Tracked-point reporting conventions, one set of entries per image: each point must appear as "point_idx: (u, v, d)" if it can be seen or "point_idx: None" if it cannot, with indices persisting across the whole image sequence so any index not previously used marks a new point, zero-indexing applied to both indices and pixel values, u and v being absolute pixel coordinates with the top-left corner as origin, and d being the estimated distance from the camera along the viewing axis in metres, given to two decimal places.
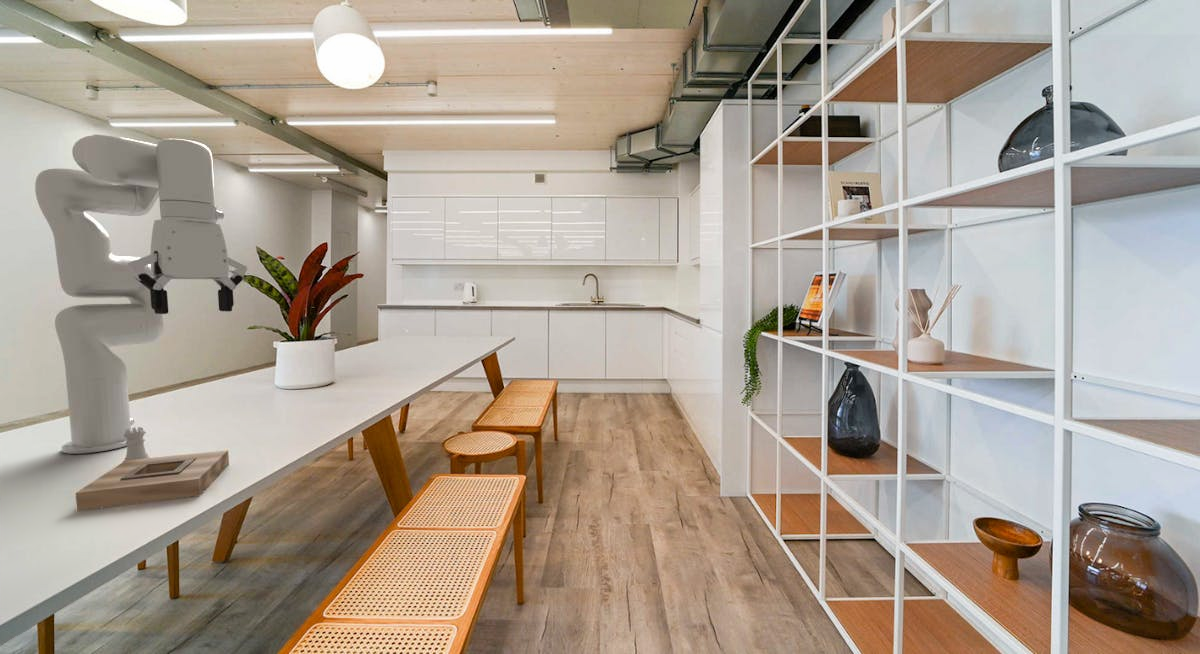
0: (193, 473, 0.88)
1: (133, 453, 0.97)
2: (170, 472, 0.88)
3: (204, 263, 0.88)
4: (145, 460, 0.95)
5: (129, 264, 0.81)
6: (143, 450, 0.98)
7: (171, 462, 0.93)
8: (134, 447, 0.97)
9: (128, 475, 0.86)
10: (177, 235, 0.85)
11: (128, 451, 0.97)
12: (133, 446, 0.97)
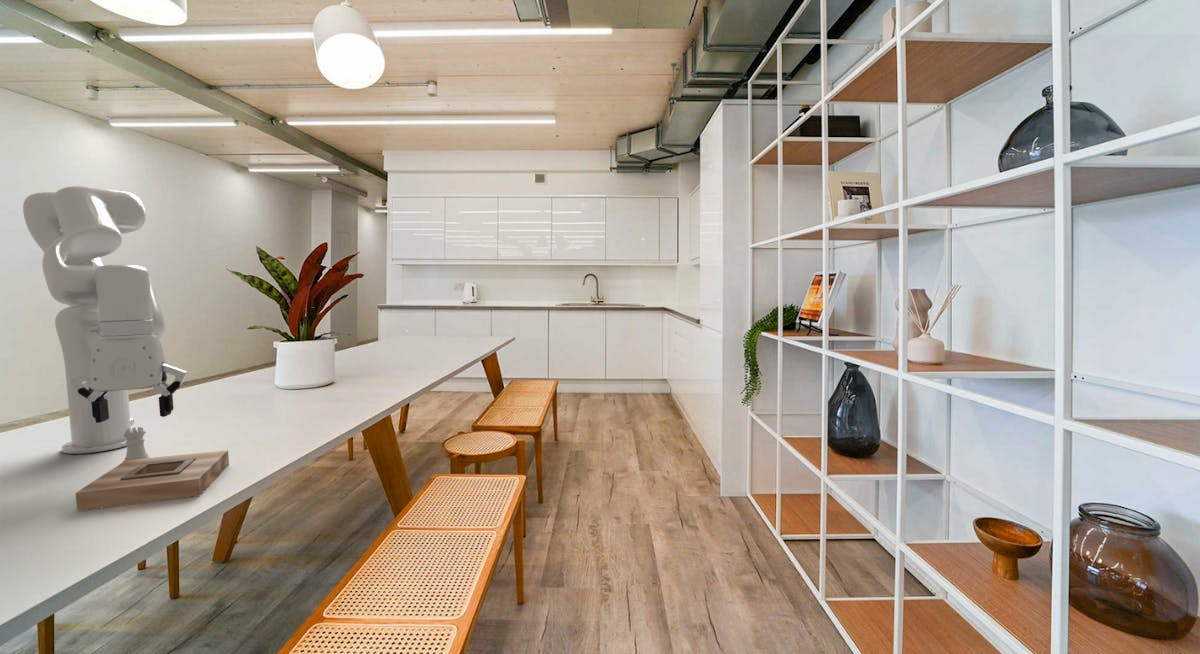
0: (193, 473, 0.88)
1: (133, 453, 0.97)
2: (170, 472, 0.88)
3: None
4: (145, 460, 0.95)
5: (186, 372, 1.00)
6: (143, 450, 0.98)
7: (171, 462, 0.93)
8: (134, 447, 0.97)
9: (128, 475, 0.86)
10: None
11: (128, 451, 0.97)
12: (133, 446, 0.97)
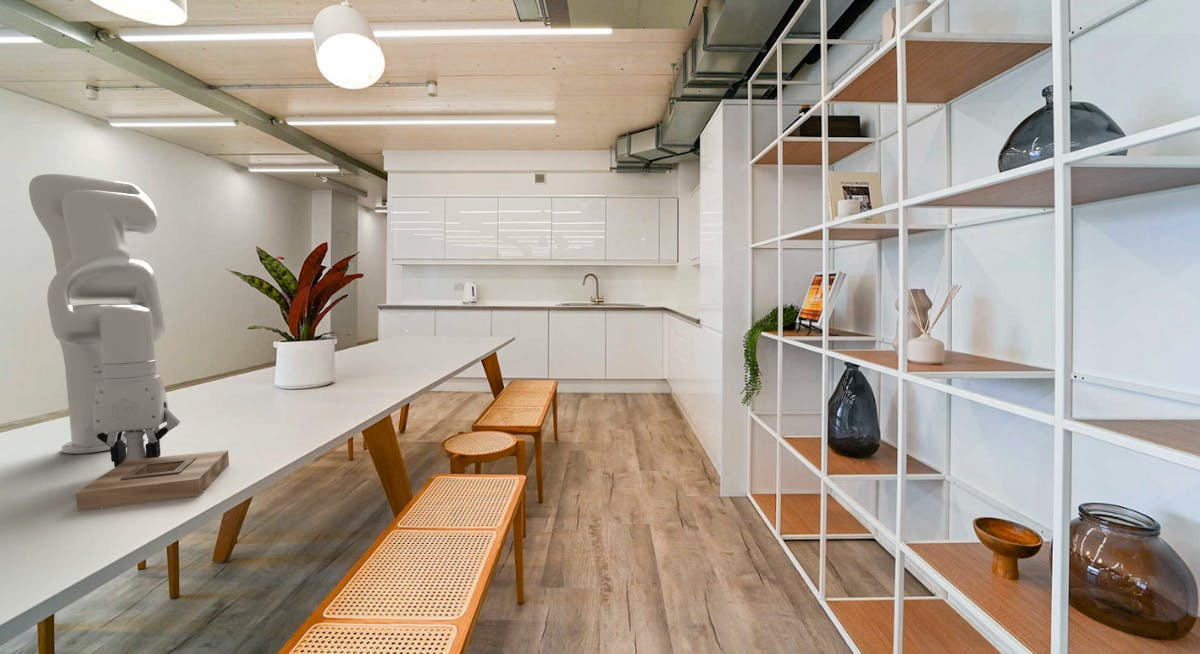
0: (193, 473, 0.88)
1: (133, 453, 0.97)
2: (170, 472, 0.88)
3: None
4: (145, 460, 0.95)
5: (179, 423, 1.01)
6: (143, 450, 0.98)
7: (171, 462, 0.93)
8: (134, 447, 0.97)
9: (128, 475, 0.86)
10: None
11: (128, 451, 0.97)
12: (133, 445, 0.97)
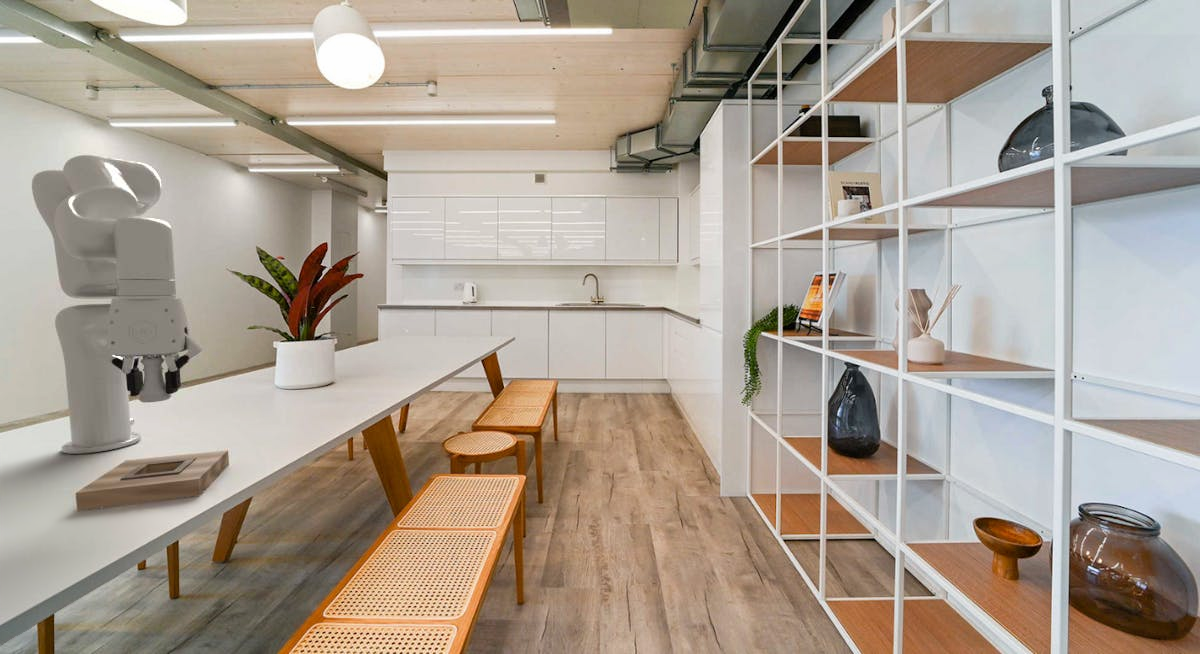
0: (193, 473, 0.88)
1: (151, 381, 0.88)
2: (170, 472, 0.88)
3: None
4: (145, 460, 0.95)
5: (201, 351, 0.91)
6: (162, 379, 0.89)
7: (171, 462, 0.93)
8: (152, 375, 0.88)
9: (128, 475, 0.86)
10: None
11: (145, 379, 0.88)
12: (151, 373, 0.88)
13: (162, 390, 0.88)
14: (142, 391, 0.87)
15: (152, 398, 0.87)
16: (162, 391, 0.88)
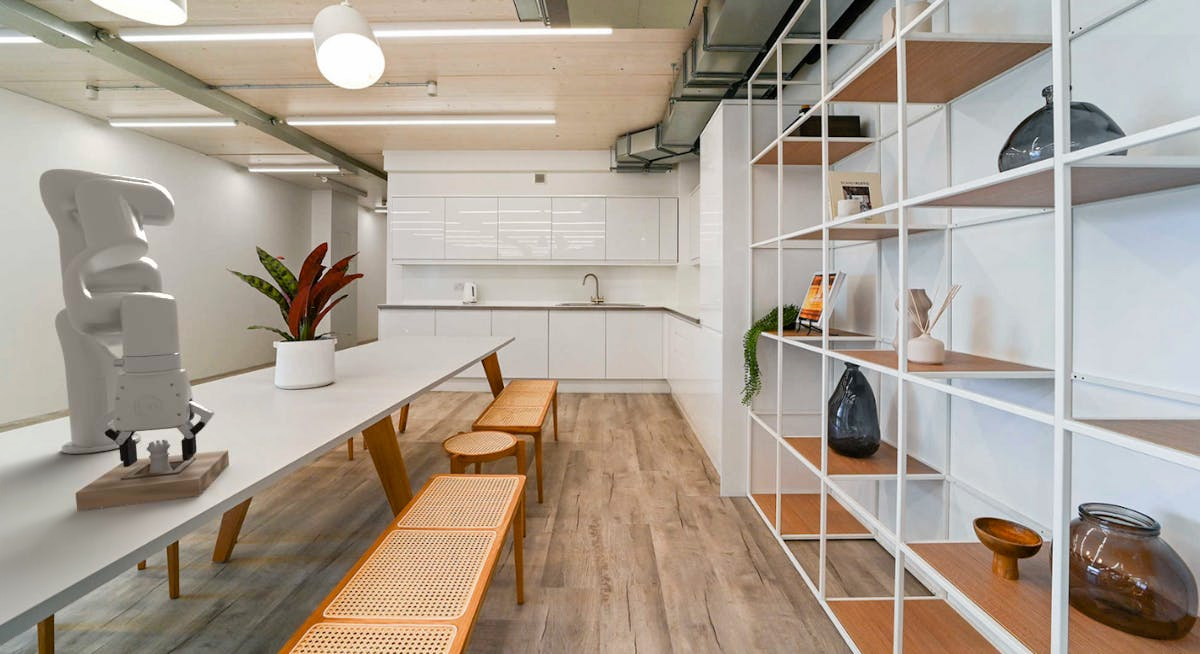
0: (193, 473, 0.88)
1: (157, 468, 0.89)
2: (170, 472, 0.88)
3: None
4: (145, 460, 0.95)
5: (213, 413, 0.93)
6: (168, 465, 0.90)
7: (171, 462, 0.93)
8: (158, 462, 0.89)
9: (128, 475, 0.86)
10: None
11: (152, 466, 0.89)
12: (157, 460, 0.89)
13: None
14: None
15: None
16: None
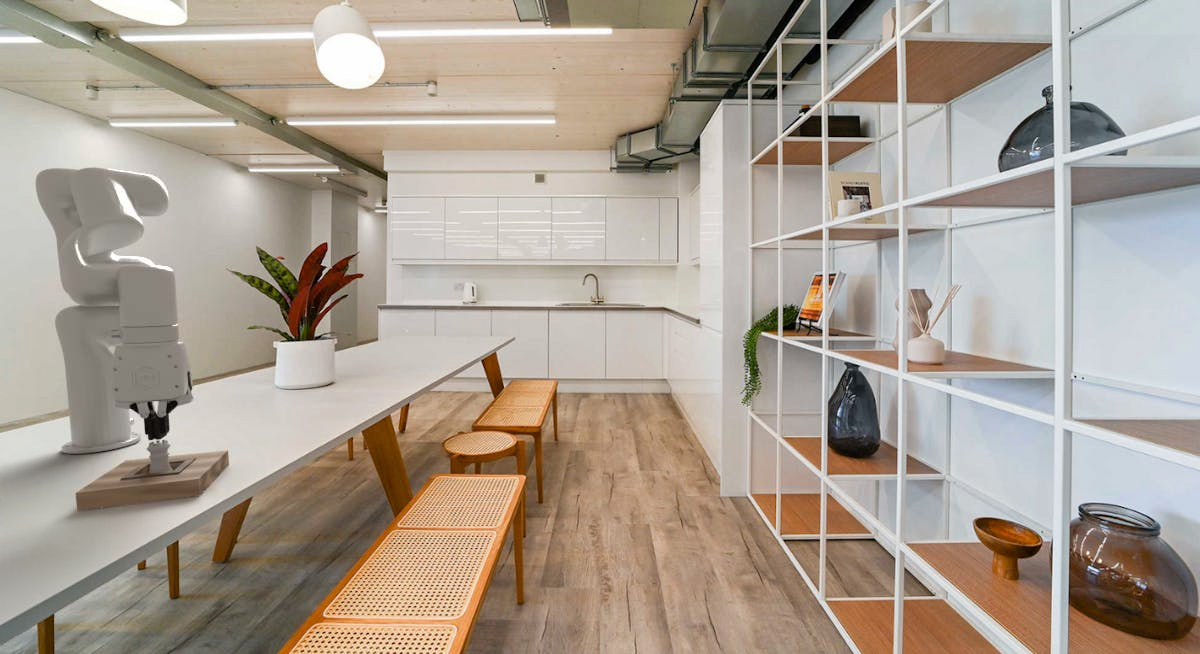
0: (193, 473, 0.88)
1: (157, 468, 0.89)
2: (170, 472, 0.88)
3: None
4: (145, 460, 0.95)
5: (192, 400, 0.91)
6: (168, 465, 0.90)
7: (171, 462, 0.93)
8: (158, 462, 0.89)
9: (128, 475, 0.86)
10: None
11: (152, 466, 0.89)
12: (157, 460, 0.89)
13: None
14: None
15: None
16: None
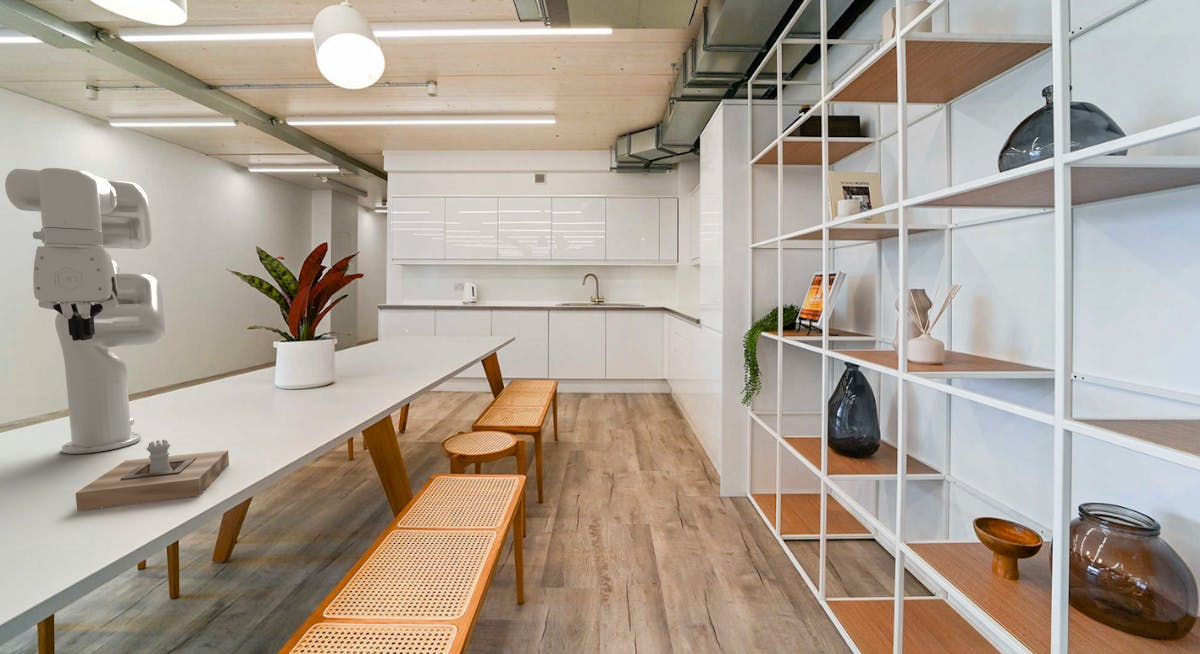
0: (193, 473, 0.88)
1: (157, 468, 0.89)
2: (170, 472, 0.88)
3: None
4: (145, 460, 0.95)
5: (117, 305, 0.95)
6: (168, 465, 0.90)
7: (171, 462, 0.93)
8: (158, 462, 0.89)
9: (128, 475, 0.86)
10: None
11: (152, 466, 0.89)
12: (157, 460, 0.89)
13: None
14: None
15: None
16: None
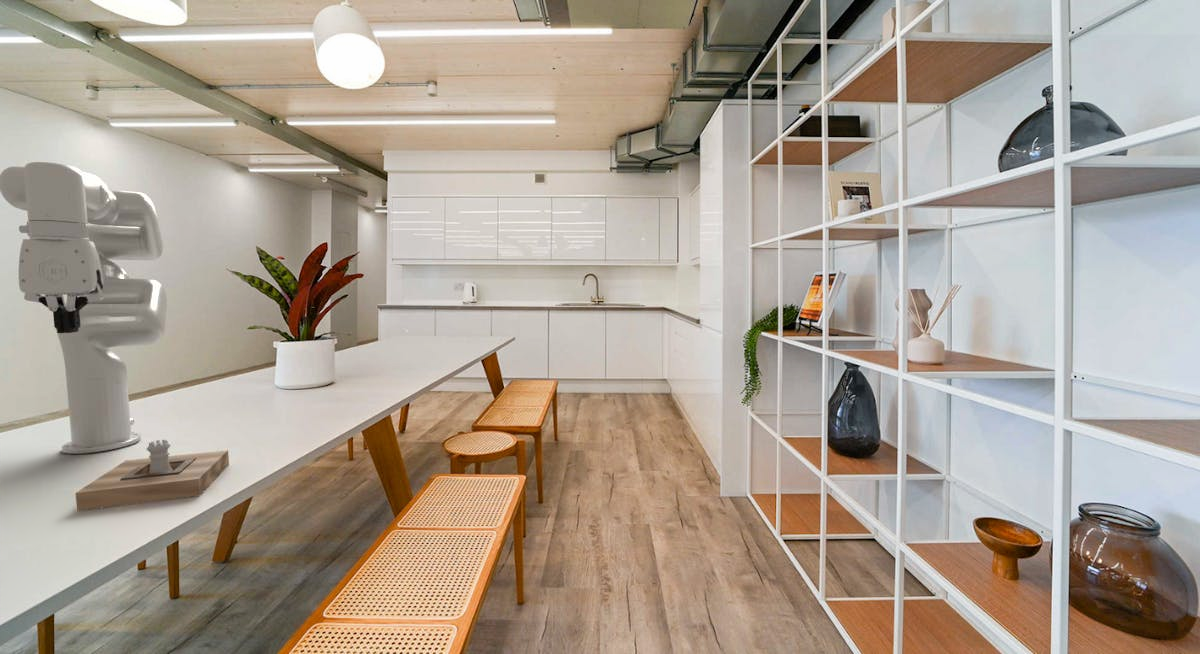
0: (193, 473, 0.88)
1: (157, 468, 0.89)
2: (170, 472, 0.88)
3: None
4: (145, 460, 0.95)
5: (102, 298, 0.95)
6: (168, 465, 0.90)
7: (171, 462, 0.93)
8: (158, 462, 0.89)
9: (128, 475, 0.86)
10: None
11: (152, 466, 0.89)
12: (157, 460, 0.89)
13: None
14: None
15: None
16: None
